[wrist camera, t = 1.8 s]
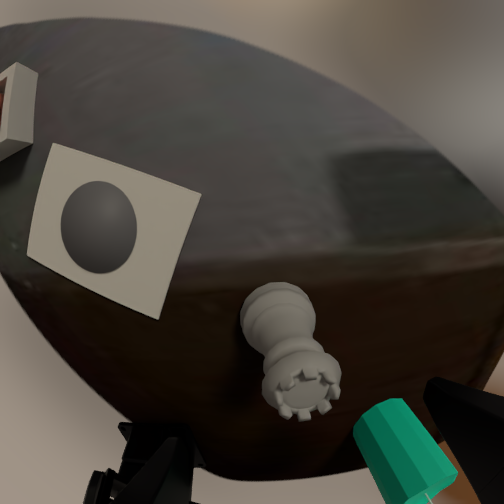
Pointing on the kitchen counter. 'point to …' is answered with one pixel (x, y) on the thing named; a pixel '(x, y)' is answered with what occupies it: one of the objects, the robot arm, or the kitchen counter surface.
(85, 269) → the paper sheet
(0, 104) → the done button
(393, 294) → the kitchen counter surface
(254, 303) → the rook chess piece
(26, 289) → the kitchen counter surface
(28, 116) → the button housing
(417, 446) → the candle
